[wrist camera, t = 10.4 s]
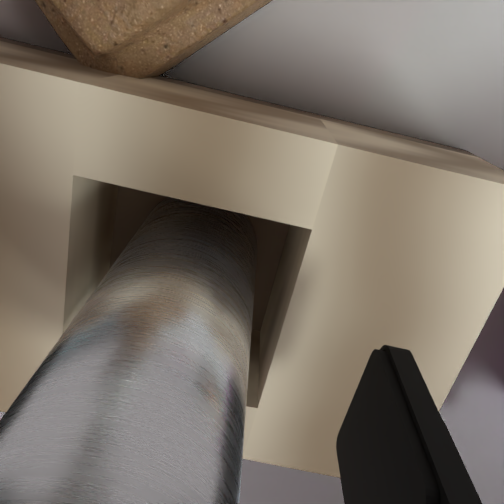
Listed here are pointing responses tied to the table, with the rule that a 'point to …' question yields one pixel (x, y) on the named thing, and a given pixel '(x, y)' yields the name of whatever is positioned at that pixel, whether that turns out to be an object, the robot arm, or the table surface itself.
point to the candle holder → (142, 30)
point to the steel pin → (145, 375)
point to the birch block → (265, 226)
